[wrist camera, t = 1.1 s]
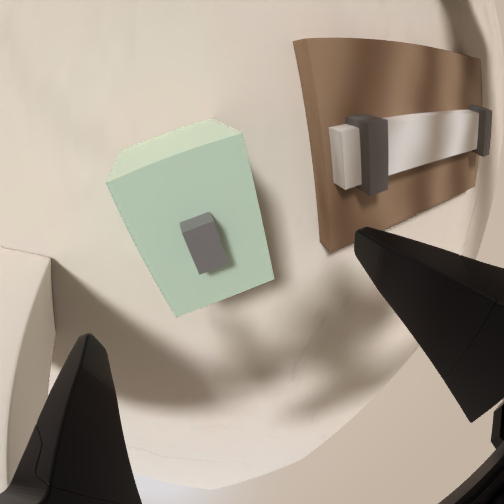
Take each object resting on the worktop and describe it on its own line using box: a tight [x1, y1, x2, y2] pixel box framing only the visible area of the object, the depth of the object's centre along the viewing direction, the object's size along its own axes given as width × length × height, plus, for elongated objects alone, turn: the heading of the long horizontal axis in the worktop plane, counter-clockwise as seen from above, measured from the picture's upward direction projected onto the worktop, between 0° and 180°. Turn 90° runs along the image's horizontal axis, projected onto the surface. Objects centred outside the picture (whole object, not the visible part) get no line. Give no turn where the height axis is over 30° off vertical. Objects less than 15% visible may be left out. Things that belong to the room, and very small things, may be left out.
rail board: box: [293, 38, 492, 252], centre depth 16 cm, size 20×14×4 cm
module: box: [106, 118, 274, 317], centre depth 13 cm, size 5×7×6 cm
